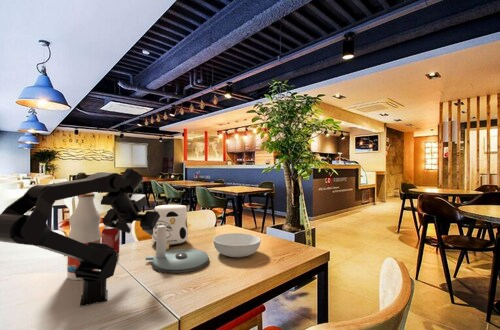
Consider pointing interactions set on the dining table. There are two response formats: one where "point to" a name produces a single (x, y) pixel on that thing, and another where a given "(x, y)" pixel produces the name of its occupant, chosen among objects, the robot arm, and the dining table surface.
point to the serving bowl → (236, 244)
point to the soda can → (111, 237)
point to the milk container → (172, 223)
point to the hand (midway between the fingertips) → (140, 233)
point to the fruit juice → (83, 228)
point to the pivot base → (179, 255)
